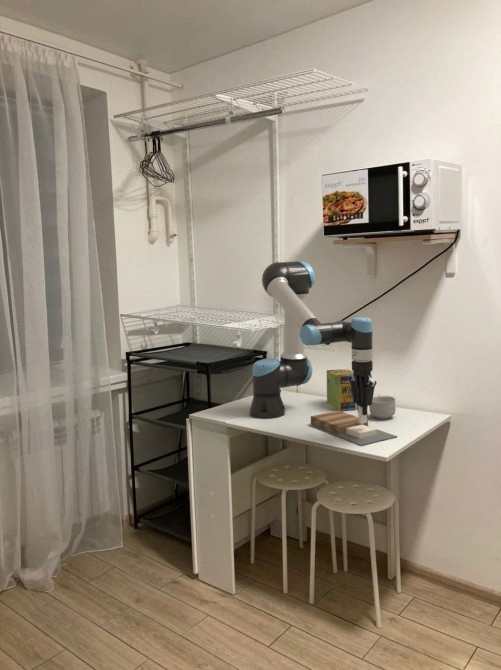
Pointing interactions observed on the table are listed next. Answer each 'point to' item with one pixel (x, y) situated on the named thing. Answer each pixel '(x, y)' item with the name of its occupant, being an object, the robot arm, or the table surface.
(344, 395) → the protein box
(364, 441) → the mat
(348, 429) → the coaster
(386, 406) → the teacup
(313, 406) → the table surface
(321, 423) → the stand
